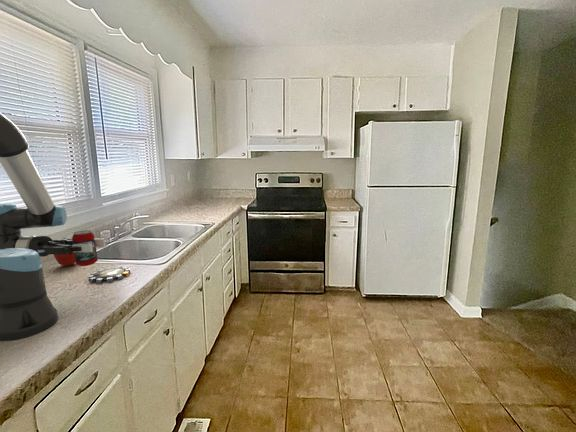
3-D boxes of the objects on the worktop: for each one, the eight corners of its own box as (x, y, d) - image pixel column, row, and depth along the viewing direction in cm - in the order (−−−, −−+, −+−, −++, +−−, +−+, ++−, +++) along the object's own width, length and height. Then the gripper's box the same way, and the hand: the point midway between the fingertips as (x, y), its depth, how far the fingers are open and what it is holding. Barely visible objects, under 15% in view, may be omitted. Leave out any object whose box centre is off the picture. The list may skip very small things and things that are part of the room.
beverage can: (75, 268, 111) (70, 235, 109) (77, 263, 117) (72, 231, 115) (97, 264, 115) (93, 232, 112) (98, 259, 120) (93, 228, 118)
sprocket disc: (80, 283, 126) (79, 279, 126) (103, 269, 141) (102, 266, 141) (118, 283, 126) (117, 279, 125) (136, 269, 140) (136, 265, 140)
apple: (56, 270, 141) (51, 240, 139) (54, 265, 149) (49, 236, 146) (84, 265, 148) (79, 236, 145) (80, 260, 155) (75, 232, 153)
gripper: (57, 248, 125) (114, 247, 125) (14, 265, 106) (81, 264, 106) (54, 229, 124) (112, 228, 123) (9, 243, 105) (78, 242, 104)
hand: (98, 245), depth 114 cm, fingers closed on beverage can, 7 cm apart
